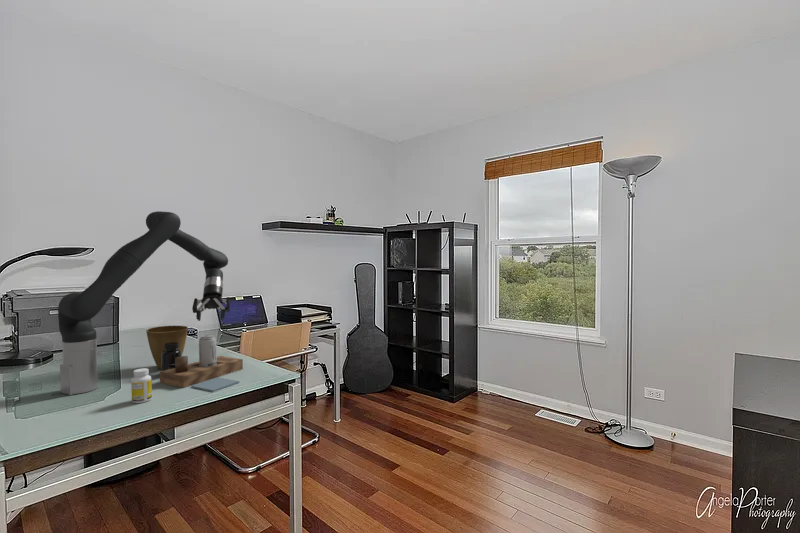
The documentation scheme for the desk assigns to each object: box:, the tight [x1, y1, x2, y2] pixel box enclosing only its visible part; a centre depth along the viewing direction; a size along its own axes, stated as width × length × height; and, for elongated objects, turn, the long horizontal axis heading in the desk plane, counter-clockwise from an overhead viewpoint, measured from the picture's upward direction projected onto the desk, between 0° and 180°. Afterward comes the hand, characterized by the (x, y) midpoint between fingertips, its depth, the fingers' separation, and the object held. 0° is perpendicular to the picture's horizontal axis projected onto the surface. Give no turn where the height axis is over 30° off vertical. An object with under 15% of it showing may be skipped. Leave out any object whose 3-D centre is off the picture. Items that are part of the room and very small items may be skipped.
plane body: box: [159, 355, 244, 389], centre depth 156 cm, size 26×13×9 cm, turn 154°
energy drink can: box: [198, 334, 217, 368], centre depth 158 cm, size 6×6×15 cm
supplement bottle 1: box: [130, 367, 153, 404], centre depth 129 cm, size 5×5×10 cm
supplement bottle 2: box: [160, 342, 181, 372], centre depth 158 cm, size 7×7×12 cm
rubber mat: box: [191, 377, 240, 393], centre depth 144 cm, size 11×11×1 cm
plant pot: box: [146, 325, 189, 370], centre depth 168 cm, size 15×15×16 cm
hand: (210, 319), depth 168 cm, fingers open, 8 cm apart
